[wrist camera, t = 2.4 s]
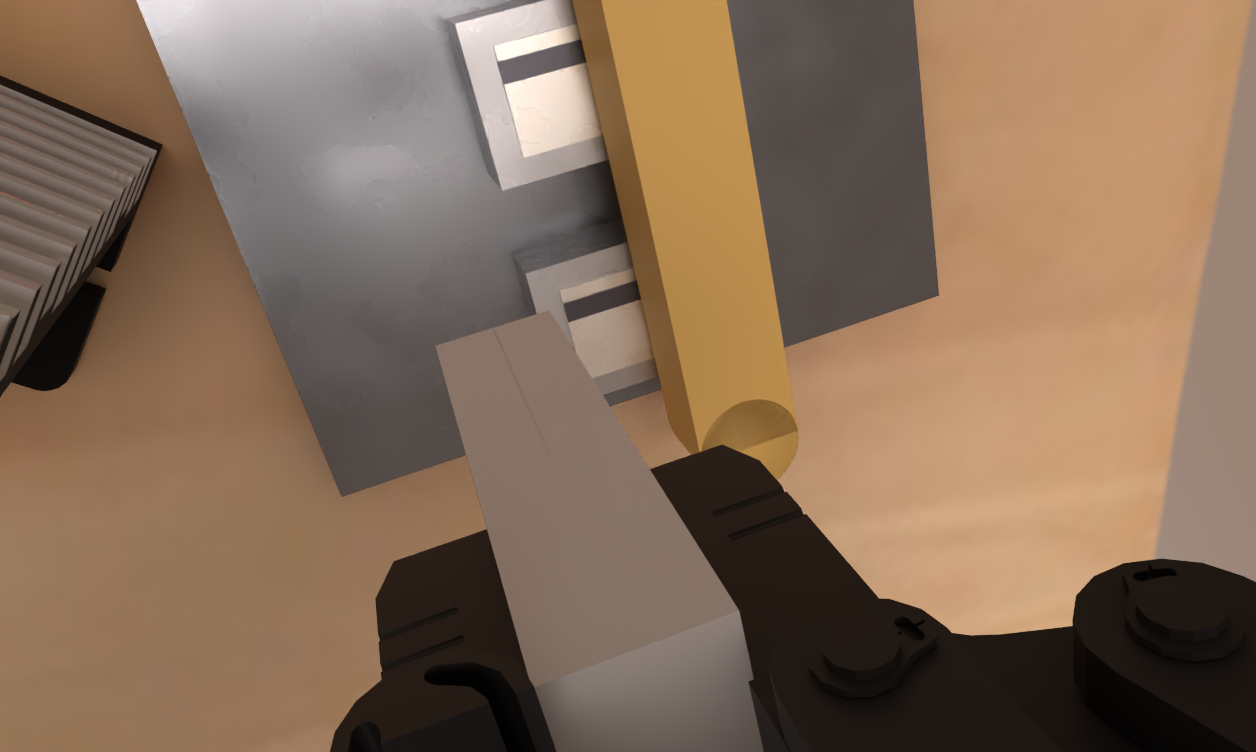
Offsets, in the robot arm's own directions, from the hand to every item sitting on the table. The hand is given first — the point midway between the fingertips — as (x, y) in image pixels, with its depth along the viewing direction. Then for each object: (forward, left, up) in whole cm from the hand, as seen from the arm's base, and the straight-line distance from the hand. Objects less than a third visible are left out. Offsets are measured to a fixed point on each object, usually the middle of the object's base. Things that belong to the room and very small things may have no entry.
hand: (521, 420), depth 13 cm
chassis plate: (+6, -1, -19) cm, 20 cm away
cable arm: (+7, -1, -18) cm, 19 cm away
